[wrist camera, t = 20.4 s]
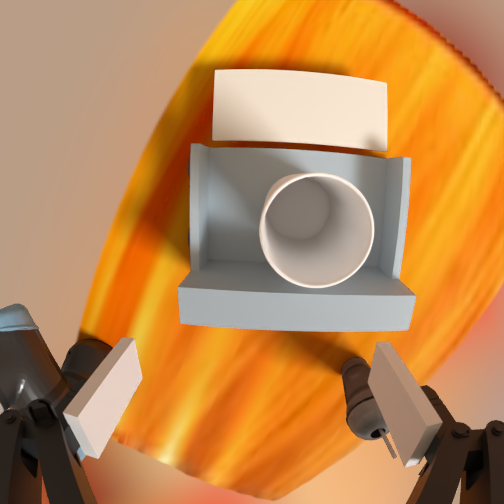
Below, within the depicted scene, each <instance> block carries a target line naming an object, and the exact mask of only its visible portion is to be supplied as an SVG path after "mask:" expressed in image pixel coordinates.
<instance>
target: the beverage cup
mask: <svg viewBox="0 0 504 504" xmlns="http://www.w3.org/2000/svg"><path fill="white" fill-rule="evenodd" d="M370 371H371V368H370V366H369V365H368V364H367V362H366V361H365V360H364V359H363V358H359V357H357V358H352V359H350V360H348V361H346V363H345V364H344V365H343V367H342V379H343V385H344V391H345V398H346V404H347V412H346V416H347V418H346V421H347V425H348V426H349V427H350V429H351V431H352V432H353V433H354V434H355V435H356V436H357V437H359V438H361V439H364V440H376V439H379V438H382V437H383V439H384V441H385V443H386V445H387V447H388V449H389V451H390V453H391V455H392V457H393V459H394V458H396V457H397V456H396V454H395V452H394V450H393V448H392V446H391V444H390V442H389V440H388V439H387V436H386V434H387V433H389V429H388V427H387V425H386V422H385V420H384V418H383V415H382V413H381V411H380V409H379V406H378V404H377V402H376V400H375V398H374V395H373V393H372V391H371V389H370V387H369V384H368V379H369V375H370Z"/></svg>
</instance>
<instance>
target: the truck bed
mask: <svg viewBox="0 0 504 504" xmlns="http://www.w3.org/2000/svg"><path fill="white" fill-rule="evenodd" d="M311 172H323V173H329V174H333V175H336V176H339V177H341V178H343V179H345V180H347V181H348V182H350V183H351V184H352V185H354V186H355V187H356V188H357V189H358V190H359V191H360V192H361V193H362V195H363V196H364V197H365V199H366V201H367V202H368V204H369V206H370V209H371V212H372V215H373V220H374V238H373V243H372V247H371V250H370V252H369V255H368V257H367V258H366V260H365V262H364V263H363V265H362V266H361V267H360V268H359V269H358V270H357V271H356V272H355V273H354V274H353V275H352V276H351V277H349V278H348V279H346V280H344V281H342V282H340V283H338V284H336V285H333V286H329V287H324V288H308V287H303V286H299V285H296V284H293V283H291V282H289V281H288V280H286V279H284V278H283V277H282V276H280V275H279V274H278V273H277V272H276V271H275V270H274V269H273V268H272V267H271V265H270V264H269V262H268V261H267V259H266V257H265V255H264V253H263V250H262V247H261V243H260V237H259V224H260V218H261V214H262V210H263V206H264V203H265V199H266V196H267V193H268V191H269V190H270V188H271V187H272V186H273V185H274V184H275V183H276V182H277V181H278V180H280V179H281V178H283V177H285V176H288V175H292V174H301V173H311ZM188 173H189V179H190V227H189V233H188V243H189V249H190V261H191V272H190V273H189V274H188V275H187V277H186V278H185V279H184V280H183V281H182V283H181V284H180V285H179V286H178V298H179V313H180V324H190V325H201V326H213V327H226V328H241V329H258V330H280V331H320V332H359V331H397V330H408V329H409V325H410V321H411V317H412V313H413V309H414V304H415V300H416V295H415V294H414V293H413V292H412V291H411V290H410V289H409V288H408V287H406V286H405V285H404V284H403V283H402V282H401V281H400V280H399V276H400V270H401V263H402V257H403V250H404V242H405V234H406V226H407V216H408V205H409V192H410V175H411V158H407V157H398V158H389V159H386V158H379V157H371V156H363V155H354V154H345V153H334V152H323V151H310V150H295V149H275V148H237V147H213V148H210V147H207V146H205V145H203V144H201V143H193V144H191V155H190V158H189V166H188Z"/></svg>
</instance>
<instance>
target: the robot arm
mask: <svg viewBox="0 0 504 504" xmlns="http://www.w3.org/2000/svg"><path fill="white" fill-rule="evenodd" d="M38 329H39V328H38V326H36V325H35V323H34V321H33V319H32V318H31V316H30V314H29V312H28V310H27V309H26V308H25V307H24V306H23V305H21V304H13V305H11V306H8V307H5V308H3V309H0V413H1V415H0V504H42V503H41V496H42V495H41V493H42V476H43V480H44V484H45V488H46V492H47V496H48V499H49V503H50V504H97V501H96V499H95V496H94V494H93V492H92V489H91V487H90V484H89V482H88V479H87V476H86V474H85V471H84V468H83V466H82V463H81V461H82V460H83V459H84V457H85V456H86V455H88V456H91V457H95V458H98V459H99V457H100V455H101V453H102V451H103V450H104V447H105V445H106V444H107V442H108V440H109V438H110V436H111V435H112V433H113V431H114V429H115V427H116V425H117V423H118V422H119V420H120V418H121V416H122V414H123V412H124V411H125V409H126V407H127V405H128V403H129V402H130V400H131V399H132V397H133V395H134V393H135V391H136V389H137V387H138V385H139V384H140V382H141V380H142V378H143V377H142V373H141V368H140V364H139V359H138V354H137V349H136V344H135V339H134V338H126V337H122V338H121V339H120V341H119V342H118V343H117V344H116V345H115V347H114V348H111V347H110V346H108V345H107V344H105V343H103V342H100V341H97V340H93V339H83V340H80V341H78V342H77V343H75V344H74V345H73V346H72V347H71V348H70V349H69V351H68V353H67V355H66V359H65V361H64V363H63V366H62V368H61V369H60V368H59V366H58V364H57V363H56V361H55V359H54V358H53V356H52V354H51V352H50V351H49V349H48V347H47V345H46V343H45V341H44V340H43V338H42V336H41V334H40V332H39V330H38ZM368 384H369V387H370V389H371V391H372V393H373V395H374V398H375V400H376V402H377V404H378V406H379V409H380V411H381V413H382V415H383V418H384V420H385V422H386V425H387V427H388V429H389V432H390V434H391V436H392V439H393V441H394V443H395V445H396V448H397V450H398V453H399V455H400V458H401V460H402V462H403V465H404V467H408V466H412V465H416V464H419V463H420V461H421V460H422V458H423V457H424V456H425V458H426V460H427V462H426V464H425V466H424V467H423V469H422V470H421V472H420V473H419V475H420V477H419V479H418V481H417V483H416V485H415V487H414V489H413V491H412V493H411V495H410V497H409V499H408V501H407V503H406V504H452V502H453V499H454V496H455V493H456V490H457V488H458V485H459V482H460V478H461V493H460V504H504V423H503V422H501V421H497V420H494V421H491V422H489V423H488V424H487V426H486V428H485V429H480V430H471V429H470V427H469V426H467V425H466V424H464V423H460V422H456V421H455V420H454V418H453V417H452V415H451V414H450V412H449V411H448V410H447V408H446V406H445V405H444V404H443V402H442V401H441V399H439V396H438V395H437V393H436V392H435V391H434V390H433V389H432V388H430V387H429V386H427V385H425V386H419V384H418V383H417V381H416V380H415V378H414V377H413V375H412V374H411V373H410V371H409V370H408V368H407V367H406V365H405V364H404V362H403V361H402V359H401V358H400V356H399V355H398V353H397V352H396V351H395V349H394V348H393V346H392V345H391V343H390V342H380V343H377V344H376V349H375V353H374V358H373V362H372V366H371V371H370V375H369V379H368ZM8 408H10V409H9V410H7V409H8Z"/></svg>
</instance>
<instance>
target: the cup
mask: <svg viewBox="0 0 504 504" xmlns="http://www.w3.org/2000/svg"><path fill="white" fill-rule="evenodd" d="M259 237H260V243H261V247H262V250H263V253H264V255H265V257H266V259H267V261H268V262H269V264H270V265H271V267H272V268H273V269H274V270H275V271H276V272H277V273H278V274H279V275H280V276H282V277H283V278H284V279H286V280H288V281H289V282H291V283H293V284H296V285H299V286H303V287H308V288H324V287H329V286H333V285H336V284H338V283H340V282H342V281H344V280H346V279H348V278H349V277H351V276H352V275H353V274H354V273H355V272H356V271H357V270H358V269H359V268H360V267H361V266H362V265H363V263H364V262H365V260H366V258H367V257H368V255H369V252H370V250H371V247H372V243H373V238H374V220H373V215H372V212H371V209H370V206H369V204H368V202H367V201H366V199H365V197H364V196H363V195H362V193H361V192H360V191H359V190H358V189H357V188H356V187H355V186H354V185H352V184H351V183H350V182H348V181H347V180H345V179H343V178H341V177H339V176H336V175H333V174H329V173H323V172H311V173H301V174H292V175H288V176H285V177H283V178H281V179H280V180H278V181H277V182H276V183H275V184H274V185H273V186H272V187H271V188H270V190H269V191H268V193H267V196H266V199H265V203H264V206H263V210H262V214H261V218H260V224H259Z"/></svg>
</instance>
